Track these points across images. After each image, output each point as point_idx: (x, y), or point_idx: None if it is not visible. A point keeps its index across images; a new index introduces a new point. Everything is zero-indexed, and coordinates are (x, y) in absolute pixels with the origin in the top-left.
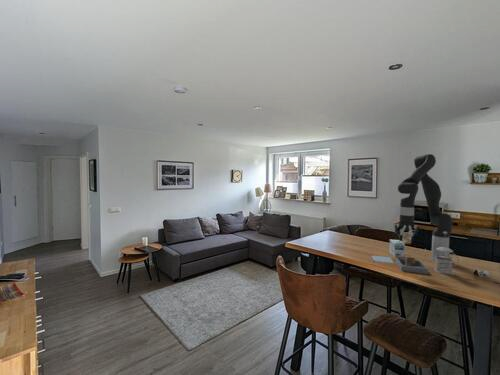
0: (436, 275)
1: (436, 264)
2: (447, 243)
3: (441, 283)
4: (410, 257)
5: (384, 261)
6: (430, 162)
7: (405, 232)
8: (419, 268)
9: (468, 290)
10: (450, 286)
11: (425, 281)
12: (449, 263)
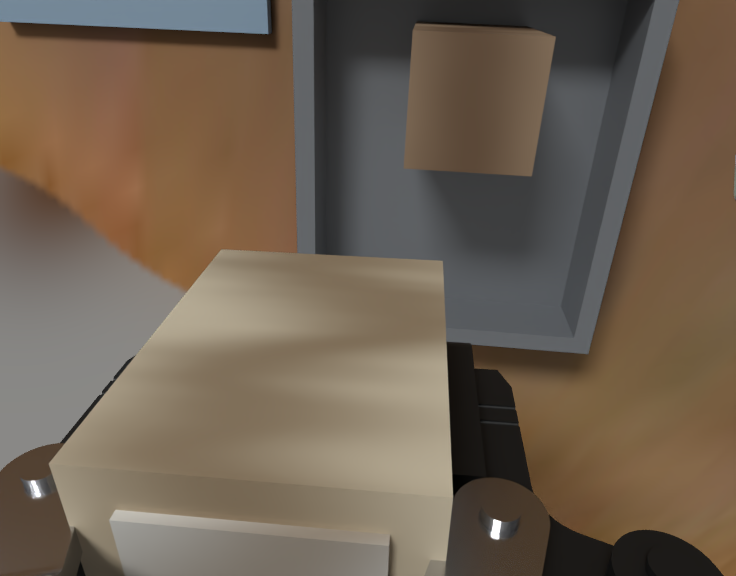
0: (666, 300)
1: None
2: None
3: (585, 473)
4: (464, 164)
5: (144, 3)
6: None
7: (237, 558)
8: (492, 342)
9: (729, 541)
10: (627, 508)
11: None
12: None
